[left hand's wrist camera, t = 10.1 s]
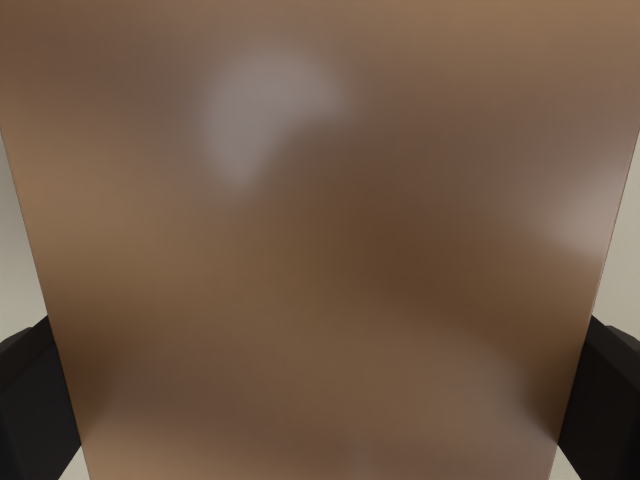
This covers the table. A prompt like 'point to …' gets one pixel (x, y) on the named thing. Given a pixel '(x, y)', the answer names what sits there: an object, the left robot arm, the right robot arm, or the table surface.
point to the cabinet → (319, 225)
